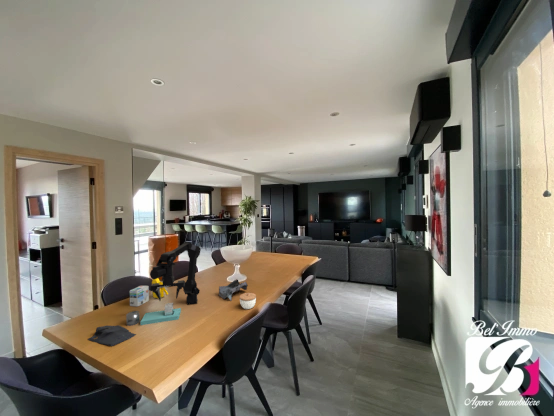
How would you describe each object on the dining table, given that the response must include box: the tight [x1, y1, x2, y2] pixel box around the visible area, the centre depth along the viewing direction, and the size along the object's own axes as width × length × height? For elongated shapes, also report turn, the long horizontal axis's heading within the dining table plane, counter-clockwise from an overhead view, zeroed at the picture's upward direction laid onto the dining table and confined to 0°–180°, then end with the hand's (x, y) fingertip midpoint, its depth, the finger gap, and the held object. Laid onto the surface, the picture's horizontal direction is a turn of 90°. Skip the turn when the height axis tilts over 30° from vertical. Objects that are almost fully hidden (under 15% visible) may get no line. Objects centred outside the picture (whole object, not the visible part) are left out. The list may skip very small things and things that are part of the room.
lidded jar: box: [239, 292, 257, 310], centre depth 148 cm, size 11×11×9 cm
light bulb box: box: [129, 285, 150, 307], centre depth 160 cm, size 11×7×11 cm, turn 168°
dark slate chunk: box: [87, 324, 137, 347], centre depth 118 cm, size 15×22×5 cm
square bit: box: [164, 302, 174, 316], centre depth 138 cm, size 4×4×8 cm
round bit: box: [125, 310, 141, 327], centre depth 131 cm, size 6×6×6 cm
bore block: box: [139, 307, 182, 326], centre depth 137 cm, size 20×11×2 cm, turn 106°
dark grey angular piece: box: [218, 278, 248, 301], centre depth 170 cm, size 18×20×9 cm
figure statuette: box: [151, 278, 169, 300], centre depth 169 cm, size 18×8×22 cm, turn 62°
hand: (168, 299), depth 138 cm, fingers open, 9 cm apart
